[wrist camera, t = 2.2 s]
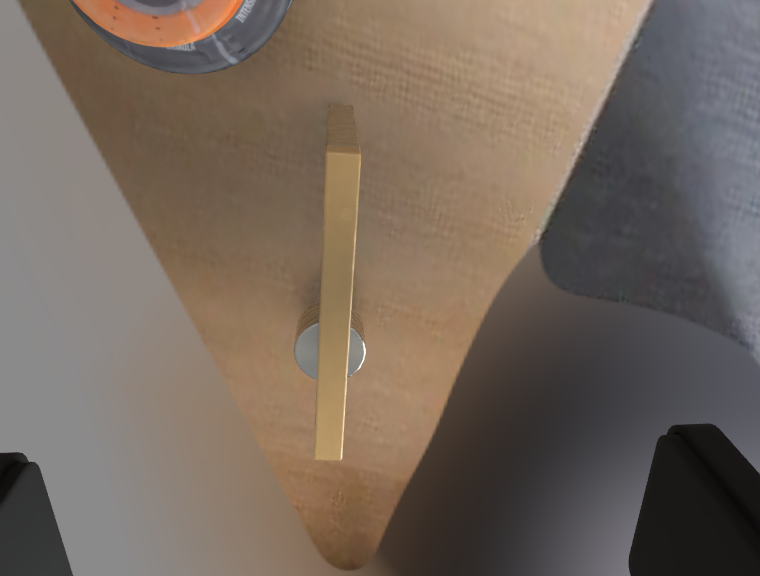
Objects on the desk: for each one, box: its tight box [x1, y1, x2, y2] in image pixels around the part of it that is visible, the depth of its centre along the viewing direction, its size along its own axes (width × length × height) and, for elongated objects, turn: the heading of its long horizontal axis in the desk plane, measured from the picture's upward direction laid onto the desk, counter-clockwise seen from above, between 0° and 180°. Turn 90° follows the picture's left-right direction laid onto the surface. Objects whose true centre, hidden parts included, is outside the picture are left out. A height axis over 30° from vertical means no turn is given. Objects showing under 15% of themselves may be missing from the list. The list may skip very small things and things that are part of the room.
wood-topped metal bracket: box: [294, 104, 365, 460], centre depth 23 cm, size 12×3×8 cm, turn 176°
